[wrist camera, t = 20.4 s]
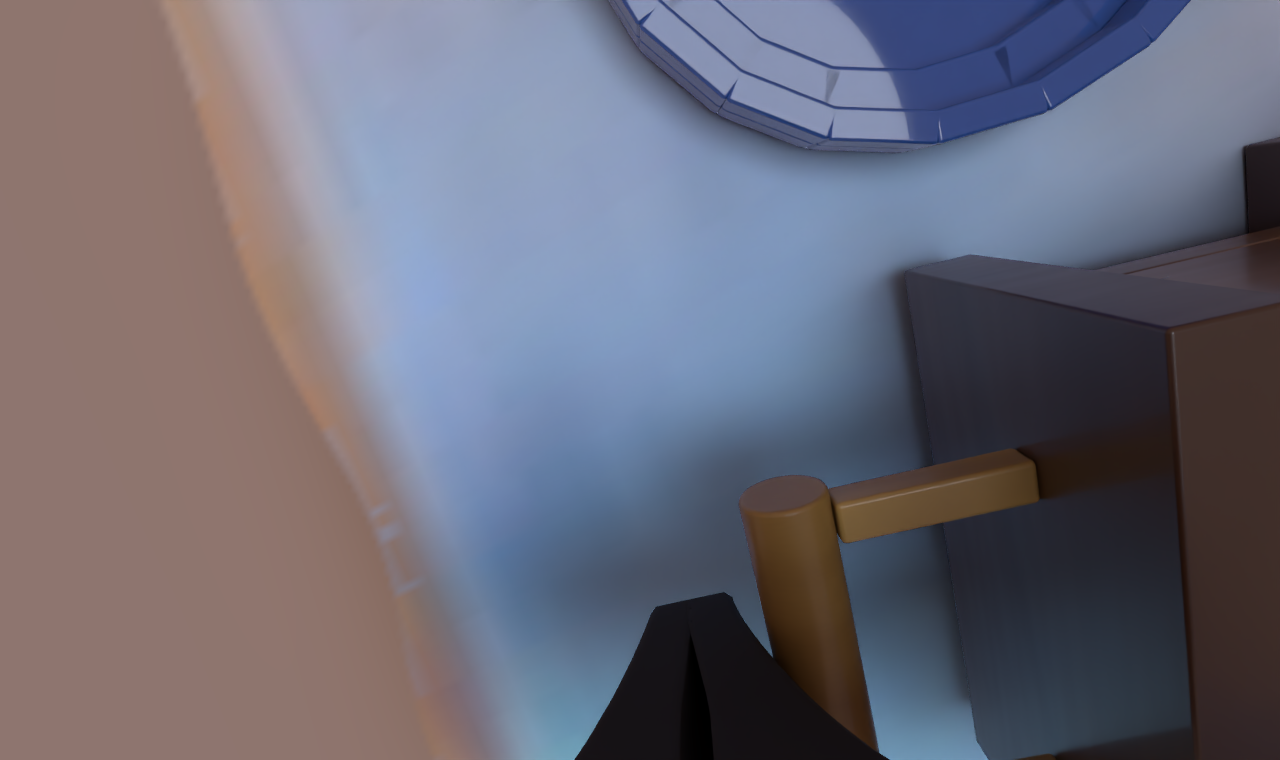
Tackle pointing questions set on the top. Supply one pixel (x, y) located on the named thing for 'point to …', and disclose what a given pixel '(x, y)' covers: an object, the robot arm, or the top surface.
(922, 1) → the blue saucer
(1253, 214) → the cabinet
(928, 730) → the top surface
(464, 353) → the top surface
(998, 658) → the drawer
